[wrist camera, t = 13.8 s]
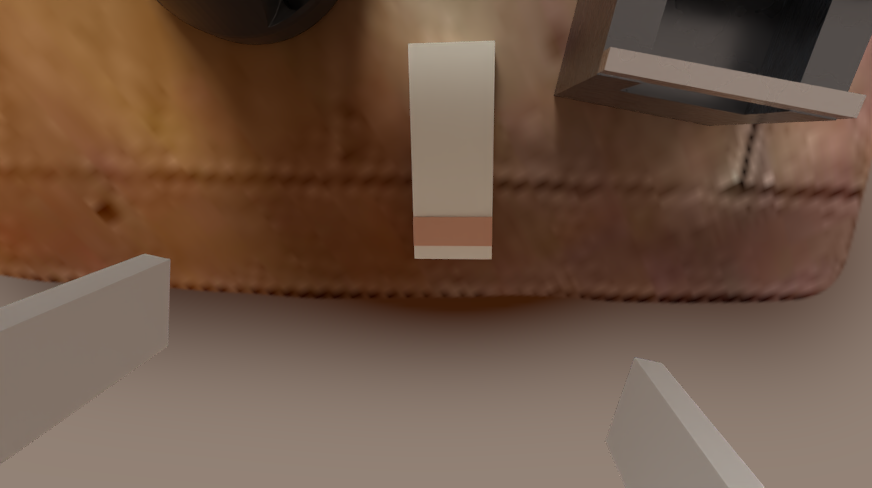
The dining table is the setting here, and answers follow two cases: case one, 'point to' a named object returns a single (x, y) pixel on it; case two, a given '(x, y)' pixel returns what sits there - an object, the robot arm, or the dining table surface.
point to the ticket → (452, 148)
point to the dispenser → (718, 58)
